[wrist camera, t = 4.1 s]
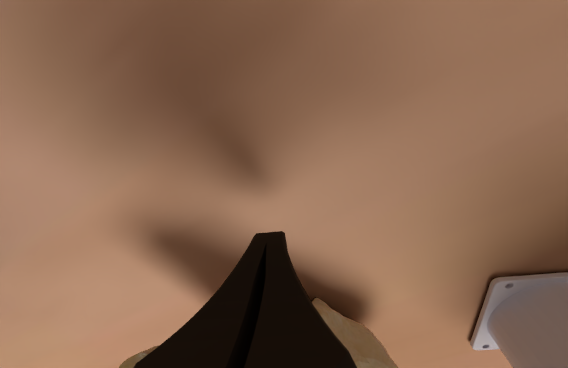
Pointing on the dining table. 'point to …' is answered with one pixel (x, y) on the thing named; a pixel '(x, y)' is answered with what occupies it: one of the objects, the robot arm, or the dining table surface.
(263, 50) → the dining table surface
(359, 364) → the cheese
